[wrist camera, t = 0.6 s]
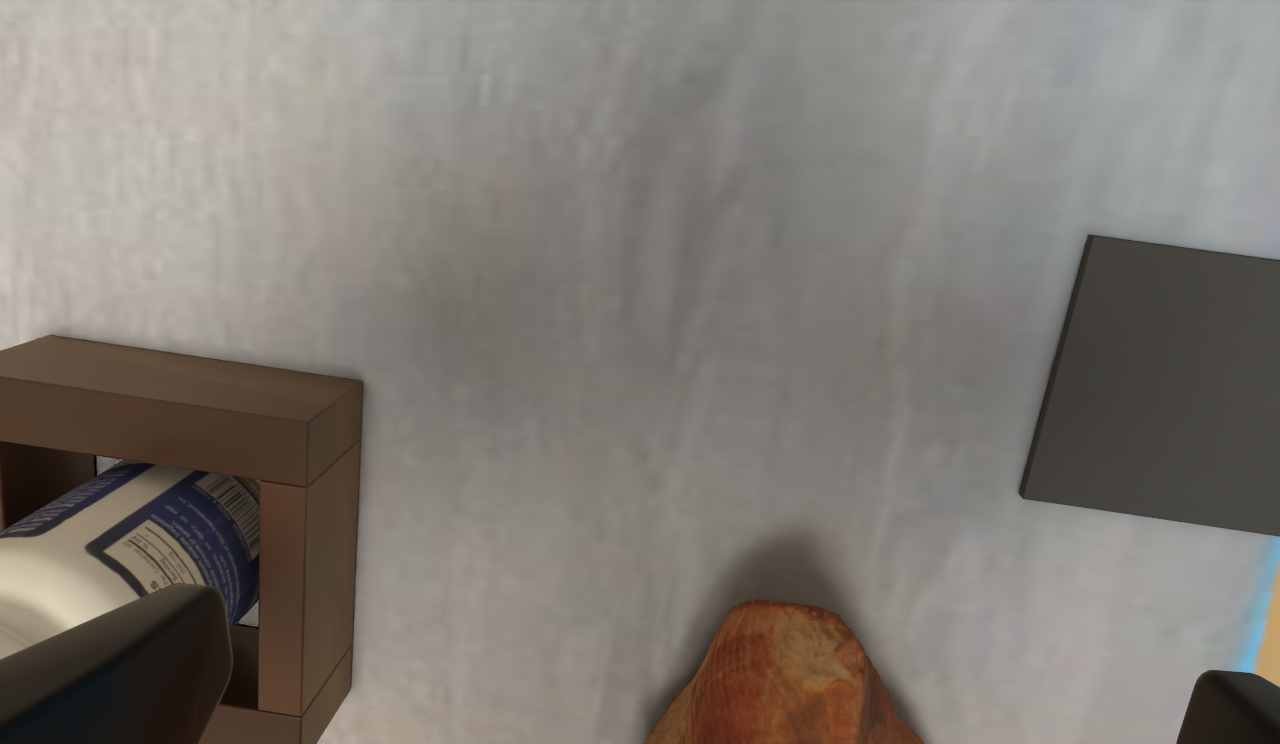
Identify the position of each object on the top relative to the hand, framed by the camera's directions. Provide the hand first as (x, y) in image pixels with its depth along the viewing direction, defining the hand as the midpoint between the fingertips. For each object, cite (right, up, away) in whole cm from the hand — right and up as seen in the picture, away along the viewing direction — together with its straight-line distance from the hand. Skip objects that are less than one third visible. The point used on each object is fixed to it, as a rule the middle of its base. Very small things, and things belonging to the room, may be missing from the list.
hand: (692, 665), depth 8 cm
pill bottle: (-13, -2, +18) cm, 22 cm away
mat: (+14, +2, +14) cm, 20 cm away
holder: (-13, -2, +18) cm, 22 cm away
